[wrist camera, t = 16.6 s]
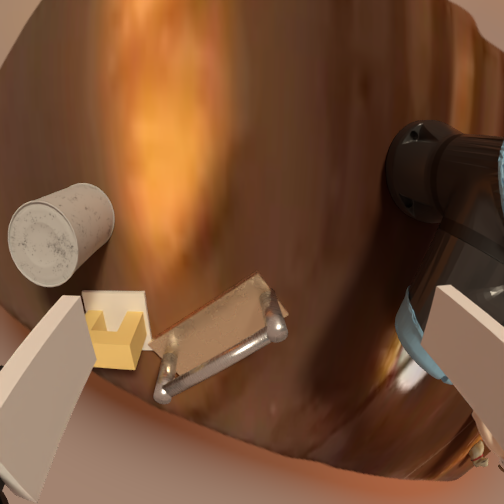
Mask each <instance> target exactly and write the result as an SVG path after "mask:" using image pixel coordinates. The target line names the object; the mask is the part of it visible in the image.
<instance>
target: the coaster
mask: <svg viewBox="0 0 504 504" xmlns="http://www.w3.org/2000/svg"><path fill="white" fill-rule="evenodd" d="M82 296H83V301H84V306H85V310H86V313H87V311H88V310H100V311H103V314H104V319H105V323H106V328H107V331H116V332H117V331H118V329H119V327H120V325H121V323H122V321H123V319H124V317H125V315H126V313H127V311H135V312H143V313H144V320H145V326H146V332H147V336H146V339H145V342H144V345H143V348H142V350H153V349H152V348H151V347H150V346H149V345H148V343H149V342H150V341H151V340H152V335H151V329H150V323H149V317H148V310H147V303H146V296H145V291H92V290H83V291H82Z"/></svg>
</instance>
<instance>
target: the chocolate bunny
mask: <svg viewBox="0 0 504 504" xmlns="http://www.w3.org/2000/svg"><path fill="white" fill-rule="evenodd" d="M483 451H484V445H483V442H482V441H481V440H480V441H479V442H478V443H476V444H475V445H474V446H473V447H472V448H471V450H470V451H469V455H470V458H471V461H473V464H474V465H475V466H476V467H478V466H488V458H483V454H482V453H483Z"/></svg>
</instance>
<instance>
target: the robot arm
mask: <svg viewBox="0 0 504 504" xmlns="http://www.w3.org/2000/svg"><path fill="white" fill-rule="evenodd" d="M386 179H387V185H388V188H389V191H390V194H391V196H392V198H393V200H394V202H395V203H396V205H397V206H398V207H399V208H400V209H401V210H402V211H403V212H404V213H405V214H407V215H408V216H410V217H412V218H414V219H416V220H418V221H421V222H425V223H440V225H439V227H438V229H437V231H436V234H435V236H434V238H433V240H432V243H431V245H430V247H429V249H428V251H427V253H426V256H425V258H424V260H423V262H422V264H421V266H420V268H419V270H418V272H417V274H416V276H415V278H414V280H413V282H412V284H411V285H409V287H408V288H407V290H406V295H405V298H404V300H403V302H402V304H401V306H400V308H399V310H398V312H397V315H396V318H395V328H396V332H397V334H398V338H399V340H400V342H401V344H402V346H403V347H404V349H405V350H406V351H407V353H408V354H409V355H410V356H411V358H412V359H413V360H414V361H415V362H416V363H417V364H418V365H419V366H420V367H421V368H422V369H424V370H425V371H426V372H427V373H429V374H430V375H431V376H433V377H434V378H436V379H441V380H442V381H443V382H444V383H447V384H451V385H454V386H455V387H456V388H457V390H458V391H459V392H460V393H461V395H462V396H463V397H464V399H465V400H466V401H467V402H468V404H469V405H470V406H471V408H472V409H473V410H474V411H475V413H476V414H477V415H478V417H479V418H480V419H481V421H482V422H483V423H484V425H485V426H486V427H487V429H488V430H489V431H490V433H491V434H492V435H493V437H494V438H495V439H496V441H497V442H498V444H499V445H500V446H501V448H502V449H503V451H504V137H497V136H486V135H473V134H463V133H461V132H460V131H458V130H456V129H455V128H453V127H451V126H449V125H448V124H446V123H443V122H440V121H436V120H420V121H415V122H412V123H410V124H408V125H407V126H405V127H404V128H403V129H402V130H401V131H400V132H399V133H398V134H397V135H396V137H395V138H394V140H393V142H392V144H391V146H390V148H389V151H388V155H387V160H386ZM96 360H97V359H96V355H95V352H94V348H93V345H92V341H91V337H90V334H89V330H88V326H87V322H86V318H85V314H84V309H83V305H82V301H81V296H66V295H62V296H61V298H60V299H59V300H58V301H57V302H56V303H55V304H54V305H53V307H52V308H51V309H50V310H49V311H48V312H47V314H46V315H45V316H44V317H43V318H42V319H41V321H40V322H39V323H38V324H37V325H36V327H35V328H34V329H33V330H32V331H31V333H30V334H29V335H28V336H27V338H26V339H25V340H24V341H23V343H22V344H21V345H20V346H19V348H18V349H17V350H16V352H15V353H14V354H13V355H12V357H11V358H10V359H9V361H8V362H7V363H6V365H5V366H0V504H9V503H8V500H7V498H6V496H5V495H4V493H3V492H2V489H3V487H4V485H6V486H7V487H8V488H9V489H10V490H11V491H12V492H13V493H14V494H15V495H17V496H19V497H22V498H24V499H27V500H30V501H33V502H35V503H38V500H39V496H40V494H41V491H42V488H43V485H44V482H45V480H46V477H47V474H48V471H49V469H50V466H51V463H52V461H53V458H54V456H55V453H56V451H57V448H58V445H59V443H60V440H61V438H62V435H63V433H64V431H65V428H66V426H67V423H68V421H69V419H70V417H71V414H72V412H73V410H74V407H75V405H76V403H77V401H78V398H79V396H80V394H81V392H82V390H83V387H84V385H85V383H86V381H87V379H88V377H89V375H90V372H91V370H92V368H93V366H94V364H95V362H96Z"/></svg>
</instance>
